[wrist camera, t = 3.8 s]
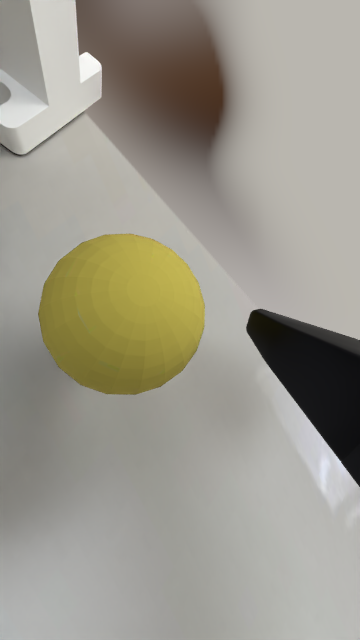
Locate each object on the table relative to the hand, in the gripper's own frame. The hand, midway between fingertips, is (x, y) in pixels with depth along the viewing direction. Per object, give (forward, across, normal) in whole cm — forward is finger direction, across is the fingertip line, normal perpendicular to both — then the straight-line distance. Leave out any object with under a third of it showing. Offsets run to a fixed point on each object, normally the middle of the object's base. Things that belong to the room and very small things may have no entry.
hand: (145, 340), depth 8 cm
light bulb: (+7, 0, +5) cm, 9 cm away
